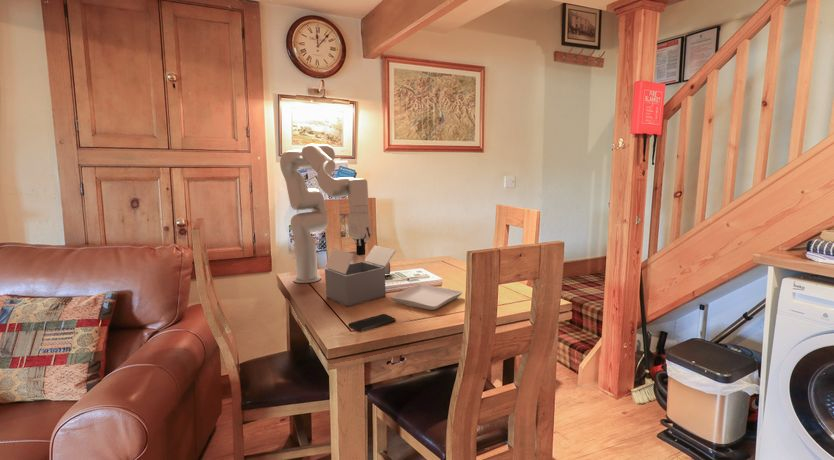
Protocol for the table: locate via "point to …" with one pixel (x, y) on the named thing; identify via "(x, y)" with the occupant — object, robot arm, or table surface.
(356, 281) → the carton
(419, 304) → the salad plate
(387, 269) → the ceramic mug
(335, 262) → the flap
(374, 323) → the phone
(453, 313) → the table surface
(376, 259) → the flap
